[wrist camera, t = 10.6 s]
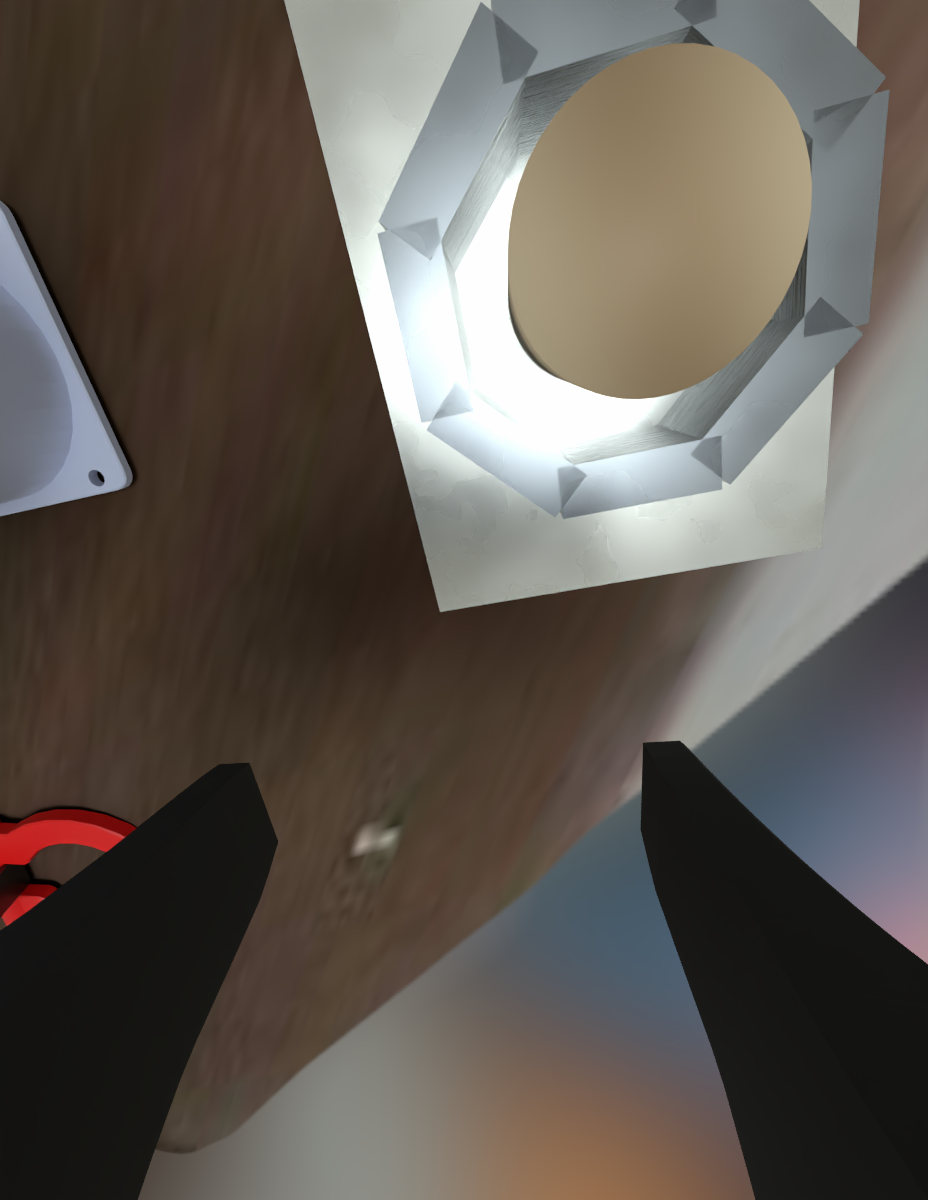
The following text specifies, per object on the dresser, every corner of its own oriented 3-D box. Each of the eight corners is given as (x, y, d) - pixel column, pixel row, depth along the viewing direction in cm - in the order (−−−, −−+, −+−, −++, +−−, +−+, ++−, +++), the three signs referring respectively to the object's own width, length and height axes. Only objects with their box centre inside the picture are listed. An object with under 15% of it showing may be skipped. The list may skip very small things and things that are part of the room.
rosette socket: (443, 600, 18) (426, 666, 14) (289, -15, 12) (179, -218, 8) (804, 538, 16) (905, 593, 12) (844, -215, 10) (1076, -612, 6)
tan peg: (531, 404, 14) (545, 432, 9) (487, 224, 13) (472, 125, 7) (692, 352, 13) (816, 348, 8) (669, 151, 12) (806, -24, 6)
